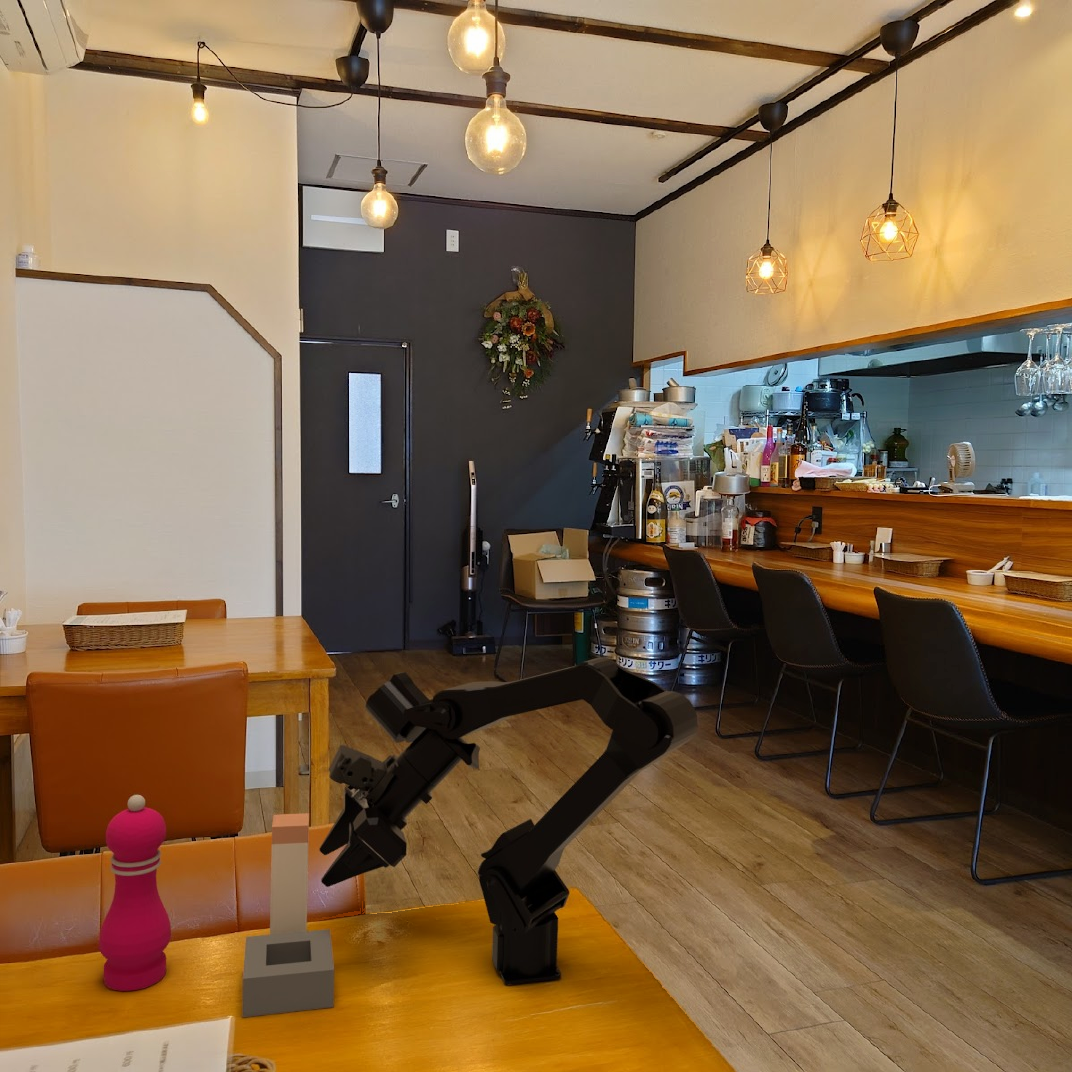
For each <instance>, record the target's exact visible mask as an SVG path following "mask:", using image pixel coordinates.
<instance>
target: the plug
mask: <svg viewBox="0 0 1072 1072" xmlns="http://www.w3.org/2000/svg"><path fill="white" fill-rule="evenodd" d="M272 818H273V819H272V825H271V854H270V855H271V859H270V860H271V861H270V863H271V864H270V865H271V866H270V912H269V913H270V917H269V918H270V919H269V921H270V923H269V935H272V934H283V933H294V932H305V931H307V928H308V927H307V926H308V925H307V923H308V922H307V921H308V920H307V919H308V884H309V883H308V882H309V881H308V878H309V877H308V876H309V874H308V873H309V867H308V866H309V839H310V838H309V836H310V835H309V833H310V831H309V830H310V829H309V828H310V826H309V825H310V824H309V823H310V813H309V812H308V813H307V812H306V813H287V814H286V813H285V814H284V813H283V814H282V813H280V814H273V817H272Z"/></svg>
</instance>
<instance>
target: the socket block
mask: <svg viewBox="0 0 1072 1072" xmlns="http://www.w3.org/2000/svg"><path fill="white" fill-rule="evenodd" d="M331 936H332V935H331V929H329V928H328V929H327V928H326V929H319V930H308V931H305V932H294V933H283V934H272V935H270V934H263V935H262V934H261V935H250V936H246V937H245V947H244V958H243V959H244V960H243V972H242V973H243V974H242V1008H241V1009H242V1010H241V1011H242V1015H241V1017H242V1018H248V1017H249V1018H250V1017H257V1016H267V1015H268V1016H269V1015H274V1014H275V1015H276V1014H283V1013H284V1014H286V1013H293V1012H300V1011H301V1012H302V1011H303V1012H305V1011H311V1010H319V1009H330V1008H334V1005H335V1004H334V1000H335V999H334V998H335V997H334V996H335V993H334V992H335V989H334V988H335V965H334V956H333V946H332V945H333V944H332V939H331V938H332V937H331Z"/></svg>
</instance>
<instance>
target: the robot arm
mask: <svg viewBox="0 0 1072 1072" xmlns="http://www.w3.org/2000/svg"><path fill="white" fill-rule="evenodd" d="M581 700H583V701H584V702H586V703H587V704H589V705H590V707H592V709H593V711H594V712H595V713H596V714H597V716H598V718H600V720H601V722H602V723H603V724H604V725H605V726H606V727H608V728H609V729H610V730H612V731H611V733H610V736H609V739H608V742H607V744H606V748H605V750H604V751H603V753H602V754H601V755H600V756H599V757H598V758H597V759H596V761H594V763H592V765H591V766H590V767H588V769H587V770H586V771H585V772H584V773H583V774H582V775H581V776H580V777H579V778H578V779H577V780H576V781H575V782H574V783H573V784H572V786H570V787H569V789H568V790H566V791H565V793H564V794H563V795H562V796H561V797H560V798H559V799H558V800H557V801H556V802H555V803H554V805H552V806H551V808H549V810H547V811H546V813H544V815H543V816H542V817H541V818H540V819H539V820H538V821H537V822H536V823H535V824H534V821H533V820H532V819H531V818H529V819H527V820H525V821H524V822H522V823H519V824H517V825H516V826H513V827H512V828H510V829H508V830H506V831H503V832H502V833H501V834H500V835H499V836H498V838H497V839H496V841H495V842H494V843H493V845H492V847H491V848H489V849H488V850H486V851H483V852H482V853H481V854H480V856H481V857H482V858H484V860H483V861H481V863H480V865H479V867H478V870H477V875H478V879H479V880H478V881H479V884H480V888H481V891H482V896H483V899H484V903H485V908H486V912H487V915H488V920H489V922H490V924H493V925H494V926H493V927H492V945H491V946H492V948H491V949H492V950H491V951H492V952H491V953H492V954H491V956H492V957H491V961H492V962H493V965H494V967H495V968H494V969H495V970H496V971H497V972H498V973H499V975H500V976H501V979H502V982H503V983H504V984H505V985H517V984H526V983H536V982H544V981H554V980H555V981H556V980H559V979H561V978H562V972H561V970H560V968H559V967H558V963H557V962H558V942H559V941H558V940H559V937H558V936H559V917H558V915H557V913H556V912H557V911H559V910H560V909H563V908H565V906H566V903H567V901H568V898H569V896H570V890H569V888H568V887H567V885H566V884H565V882H564V881H563V879H562V878H561V877H560V875H559V874H558V872H557V871H556V869H557V868H558V866H559V864H560V862H561V858H562V855H563V852H564V850H565V849H566V847H567V846H568V845H569V844H570V843H571V842H572V841H574V839H575V838H576V837H577V836H578V835H579V834H580V833H581V832H582V831H583V830H584V829H585V828H586V827H587V826H588V825H589V824H590V823H591V822H592V821H593V820H594V819H595V818H596V817H597V816H598V815H599V814H601V812H602V811H603V810H604V809H605V808H606V807H607V806H608V805H609V804H610V803H611V802H612V801H613V800H614V799H615V798H616V797H617V796H618V795H619V794H620V793H621V792H622V791H623V790H624V789H625V788H626V787H627V786H628V785H629V784H630V783H631V782H632V781H633V780H634V779H635V778H636V777H637V776H638V775H639V774H640V773H642V772H643V771H644V770H646V769H647V768H649V767H651V766H652V765H654V764H656V763H657V762H658V761H661V760H662V759H663V758H665V757H666V756H668V755H670V754H672V753H673V752H675V751H676V750H678V749H679V748H681V747H682V746H684V745H686V744H687V743H688V742H689V741H691V740H692V739H693V738H694V737H695V735H696V734H697V731H698V728H699V724H698V715H697V711H696V709H695V707H694V705H693V704H692V702H691V701H690V699H689V698H687V697H686V696H685V695H684V694H681V693H679V692H677V691H670V690H667V689H665V688H664V687H663V686H661V685H660V684H659V683H657V682H655V681H653V680H650V679H648V678H646V677H644V676H642V675H639V674H636V673H634V672H632V671H630V670H627V669H626V668H624V667H623V666H621V665H620V664H618V663H617V662H616V661H614V660H612V659H610V658H607V657H605V656H603V657H596V658H593V659H589V660H585V661H582V662H580V663H578V664H577V665H574V666H569V667H567V668H562V669H558V670H554V671H550V672H546V673H541V674H537V675H534V676H531V677H530V676H529V677H526V678H522V679H518V680H515V681H507V682H505V681H497V680H496V681H495V680H491V681H490V680H489V681H488V680H487V681H486V680H485V681H473V682H469V683H468V682H467V683H464V684H461V685H457V686H453V687H449V688H446V689H442V690H440V691H437V692H436V693H435V694H434V695H433V696H432V699H430V698H428V696H427V695H425V693H424V692H423V691H422V690H421V689H420V688H419V687H418V686H417V685H416V684H415V683H414V681H413V679H412V677H411V676H409V674H408V673H407V672H406V671H402V672H398V673H395V674H394V673H393V675H392V677H391V678H390V680H388V681H386V682H385V683H384V684H383V685H381V686H379V687H378V688H377V690H375V692H374V693H371V695H369V697H368V699H367V700H366V703H365V710H366V711H367V713H369V716H371V717H372V719H374V720H375V722H376V723H377V724H378V725H379V726H380V727H381V728H382V729H383V730H384V732H385V733H386V734H387V735H388V736H389V737H390V738H391V739H392V741H393V742H394V743H403V742H405V743H408V744H409V743H410V744H409V745H408V746H406V748H405V749H404V750H403V751H402V752H401V753H400V755H398V756H397V755H396V754H395V753H394V754H392V755H390V754H389V756H387V758H386V759H384V760H383V761H381V760H380V759H377V758H375V757H373V756H371V755H369V754H366V753H364V752H362V751H359V750H357V749H354V748H353V747H349V746H347V745H344V744H340V745H339V747H338V749H337V751H336V753H335V755H334V757H333V759H332V762H331V763H330V765H329V768H328V771H329V775H328V777H329V778H330V780H331V781H333V782H335V783H337V784H339V785H342V784H345V785H346V786H344V788H343V798H344V799H343V808H342V810H341V812H340V814H339V815H338V817H337V818H336V820H335V822H334V824H333V825H332V827H331V828H330V830H329V832H328V834H327V835H326V836H325V838H324V840H323V841H322V843H321V845H320V847H319V852H320V853H321V854H322V855H323V856H327V855H329V854H331V853H334V852H335V851H337V850H339V849H340V848H343V849H342V850H341V851H340V853H339V854H338V855H337V856H336V858H335V860H334V861H333V862H332V864H330V866H329V867H328V869H327V871H326V872H325V873H324V874H323V876H322V878H321V879H320V880H321V884H323V885H324V886H325V887H326V888H330V887H332V886H334V885H336V884H339V883H342V882H345V881H347V880H349V879H352V878H354V877H357V876H360V875H363V874H365V873H368V872H371V871H374V870H378V869H380V868H389V867H390V866H391V867H392V868H396V866H398V865H399V863H400V862H401V861H402V860H403V859H404V858H405V857H406V856H407V849H408V848H407V847H408V846H407V844H408V843H407V841H406V837H405V833H404V831H402V830H403V829H404V828H405V827H406V826H407V825H408V822H407V819H406V818H407V817H408V816H409V815H410V814H411V813H412V812H413V811H414V810H415V809H416V808H417V807H418V806H419V805H420V804H421V803H422V802H423V803H424V804H425V805H427V804H429V802H430V801H432V799H433V796H432V792H433V791H434V789H436V788H437V786H438V785H440V783H442V781H443V780H445V779H446V777H447V776H448V775H449V774H450V773H451V772H452V771H453V770H454V769H455V768H456V767H457V766H458V765H459V764H460V763H461V761H463V763H465V765H467V766H468V767H470V768H471V769H473V770H475V771H476V770H479V768H480V759H479V757H480V756H479V754H480V750H481V746H480V745H478V744H477V743H475V742H471V743H468V742H467V741H466V740H465V739H464V738H463V737H465V736H468V735H471V734H474V733H477V732H480V731H483V730H486V729H488V728H490V727H492V726H494V725H497V724H499V723H500V722H503V721H505V720H507V719H509V718H510V717H511V716H517V715H519V714H520V715H521V714H524V713H528V712H529V713H530V712H534V711H537V710H541V709H542V710H543V709H546V708H550V707H551V708H552V707H554V706H559V705H563V704H568V703H572V702H577V701H581Z"/></svg>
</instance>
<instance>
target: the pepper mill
mask: <svg viewBox="0 0 1072 1072" xmlns="http://www.w3.org/2000/svg"><path fill="white" fill-rule="evenodd" d="M166 835H167V826H166V822H165V819H164V817H163V816H162V815H161V813H159V812H158V811H157V810H155V809H153V808H149V807H146V799H145V798H144V796H142V795H140V794H133V795H132V796H130V797H129V798H128V800H127V809H124V810H122V811H120V812H119V813H118V814H116V815H114V816H113V818H112V819H111V820H110V821H109V823H108V825H107V828H106V831H105V844H106V846H107V847H106V848H108V850H109V851H110V852H111V853H112V856H111V857H110V862H111V865H110V871H111V873H113V874H114V880H115V881H114V882H115V883H114V893H113V898H112V901H111V904H110V907H109V909H108V912H107V913H106V916H105V917H104V920H103V922H102V925H101V927H100V928H101V929H100V931H99V936H98V937H99V939H98V949H99V952H100V954H101V956H103V958H105V959H106V961H105V962H104V964H103V983H104V985H105V986H106V988H107V987H108V988H109V989H110V990H115V991H119V992H131V991H138V990H142V989H146V988H149V987H151V986H154V985H155V984H156V983H158V982H160V981H161V980H162V979H163V978H164V976H165V974H166V972H167V955H166V953H165V952H164V950H165V949H166V948H167V946H168V945H169V944H170V941H171V939H172V927H171V921H170V917H169V914H168V912H167V910H166V908H165V906H164V903H163V902H162V899H161V896H160V893H159V890H158V884H157V883H158V882H157V881H158V880H157V869H158V868H159V867H160V866H161V864H162V860H161V856H162V852H161V850H160V849H159V848H160V847H161V846H162V845H163V843H164V841H165V840H166Z"/></svg>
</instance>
